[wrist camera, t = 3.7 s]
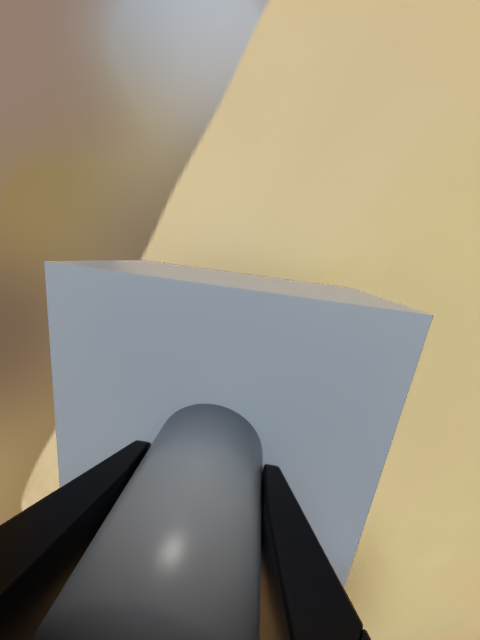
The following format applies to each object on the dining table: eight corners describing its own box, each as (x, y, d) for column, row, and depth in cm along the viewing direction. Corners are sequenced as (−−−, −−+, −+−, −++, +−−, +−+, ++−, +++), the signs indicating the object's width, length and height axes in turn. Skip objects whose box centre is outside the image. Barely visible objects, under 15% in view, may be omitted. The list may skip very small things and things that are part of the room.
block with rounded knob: (353, 288, 11) (815, 444, 2) (310, 465, 14) (411, 928, 4) (144, 260, 12) (-323, 265, 3) (139, 433, 15) (-106, 773, 5)
